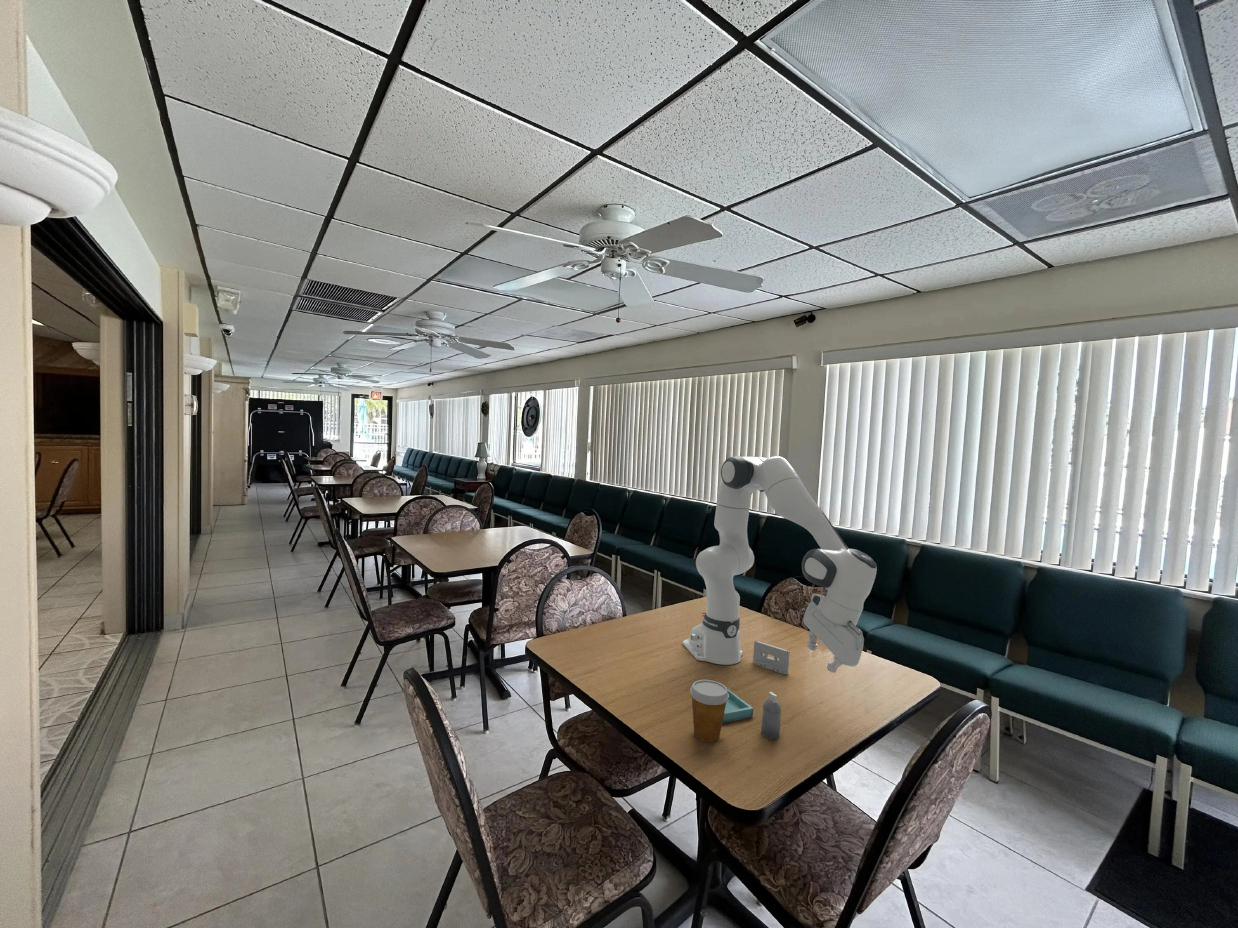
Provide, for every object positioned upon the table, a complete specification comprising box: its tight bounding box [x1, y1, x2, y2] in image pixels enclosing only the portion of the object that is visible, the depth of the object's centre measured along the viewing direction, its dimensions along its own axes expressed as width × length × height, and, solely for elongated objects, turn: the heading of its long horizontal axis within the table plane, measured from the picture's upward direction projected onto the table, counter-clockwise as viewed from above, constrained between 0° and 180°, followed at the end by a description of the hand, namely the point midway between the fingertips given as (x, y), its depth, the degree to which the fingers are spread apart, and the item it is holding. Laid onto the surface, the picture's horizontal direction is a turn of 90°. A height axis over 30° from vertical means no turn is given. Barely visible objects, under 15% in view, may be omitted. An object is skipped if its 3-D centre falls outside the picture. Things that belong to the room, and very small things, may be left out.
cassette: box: [752, 640, 790, 675], centre depth 166 cm, size 12×2×8 cm, turn 50°
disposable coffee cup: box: [689, 679, 729, 743], centre depth 124 cm, size 10×10×12 cm
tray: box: [722, 688, 754, 724], centre depth 137 cm, size 12×10×2 cm
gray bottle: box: [761, 691, 782, 740], centre depth 126 cm, size 4×4×10 cm
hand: (820, 659), depth 130 cm, fingers open, 8 cm apart
